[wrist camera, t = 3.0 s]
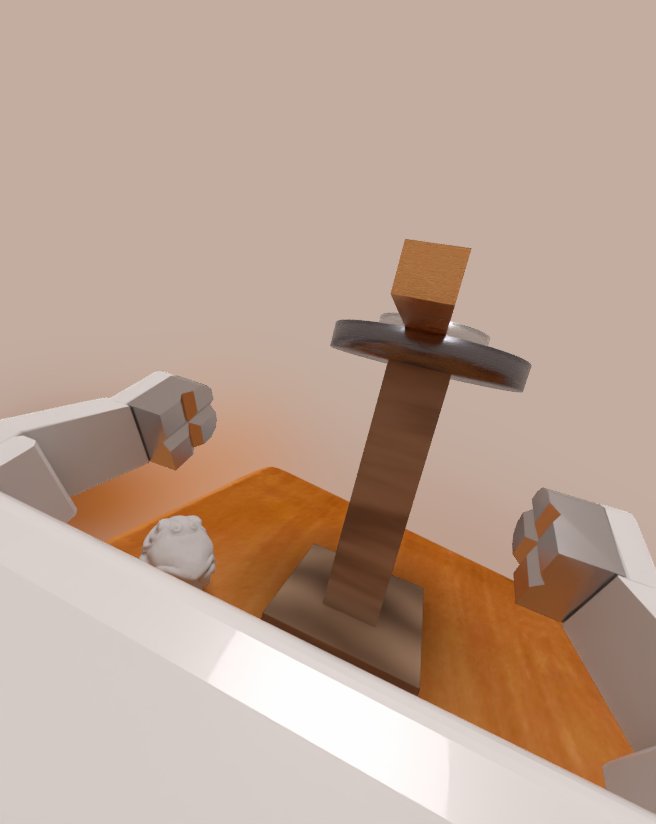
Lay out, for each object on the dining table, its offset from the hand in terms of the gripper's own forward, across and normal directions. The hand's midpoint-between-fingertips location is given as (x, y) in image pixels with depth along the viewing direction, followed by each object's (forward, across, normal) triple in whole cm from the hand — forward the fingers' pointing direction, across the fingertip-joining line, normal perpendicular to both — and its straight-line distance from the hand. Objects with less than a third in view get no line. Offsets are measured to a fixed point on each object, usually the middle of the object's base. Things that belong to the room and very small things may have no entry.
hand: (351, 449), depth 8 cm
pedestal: (+9, 0, +29) cm, 31 cm away
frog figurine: (+2, +14, +26) cm, 29 cm away
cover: (+19, 0, +5) cm, 19 cm away
